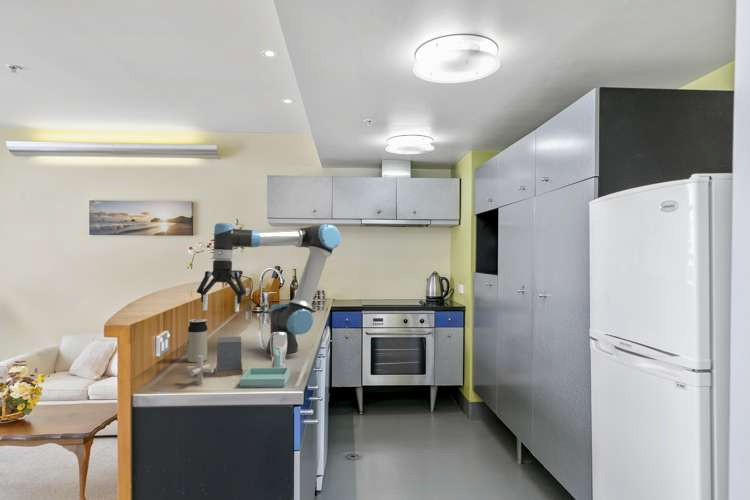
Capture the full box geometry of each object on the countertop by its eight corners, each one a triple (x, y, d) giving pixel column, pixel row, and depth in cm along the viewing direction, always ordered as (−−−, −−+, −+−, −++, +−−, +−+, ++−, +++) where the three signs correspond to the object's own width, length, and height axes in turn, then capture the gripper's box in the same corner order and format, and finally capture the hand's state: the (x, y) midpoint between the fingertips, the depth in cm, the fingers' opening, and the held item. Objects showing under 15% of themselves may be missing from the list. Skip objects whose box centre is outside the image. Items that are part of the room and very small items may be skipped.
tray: (249, 375, 171) (249, 367, 171) (289, 375, 172) (289, 367, 172) (239, 387, 155) (239, 379, 156) (284, 387, 157) (284, 378, 157)
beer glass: (290, 368, 182) (290, 332, 182) (281, 372, 176) (281, 335, 176) (275, 367, 184) (275, 331, 185) (266, 371, 178) (266, 334, 178)
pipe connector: (204, 388, 155) (204, 359, 155) (179, 386, 157) (179, 358, 157) (220, 380, 165) (220, 353, 165) (196, 378, 167) (196, 352, 167)
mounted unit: (216, 368, 182) (216, 337, 182) (241, 366, 185) (242, 335, 185) (215, 376, 169) (215, 343, 169) (242, 374, 172) (242, 341, 172)
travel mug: (209, 358, 199) (210, 318, 199) (203, 362, 191) (203, 321, 191) (191, 358, 199) (192, 318, 199) (184, 362, 191) (185, 321, 191)
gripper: (189, 259, 181) (187, 310, 180) (248, 260, 179) (246, 313, 179) (198, 259, 188) (196, 308, 188) (254, 260, 187) (253, 310, 186)
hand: (220, 311), depth 183 cm, fingers open, 13 cm apart
